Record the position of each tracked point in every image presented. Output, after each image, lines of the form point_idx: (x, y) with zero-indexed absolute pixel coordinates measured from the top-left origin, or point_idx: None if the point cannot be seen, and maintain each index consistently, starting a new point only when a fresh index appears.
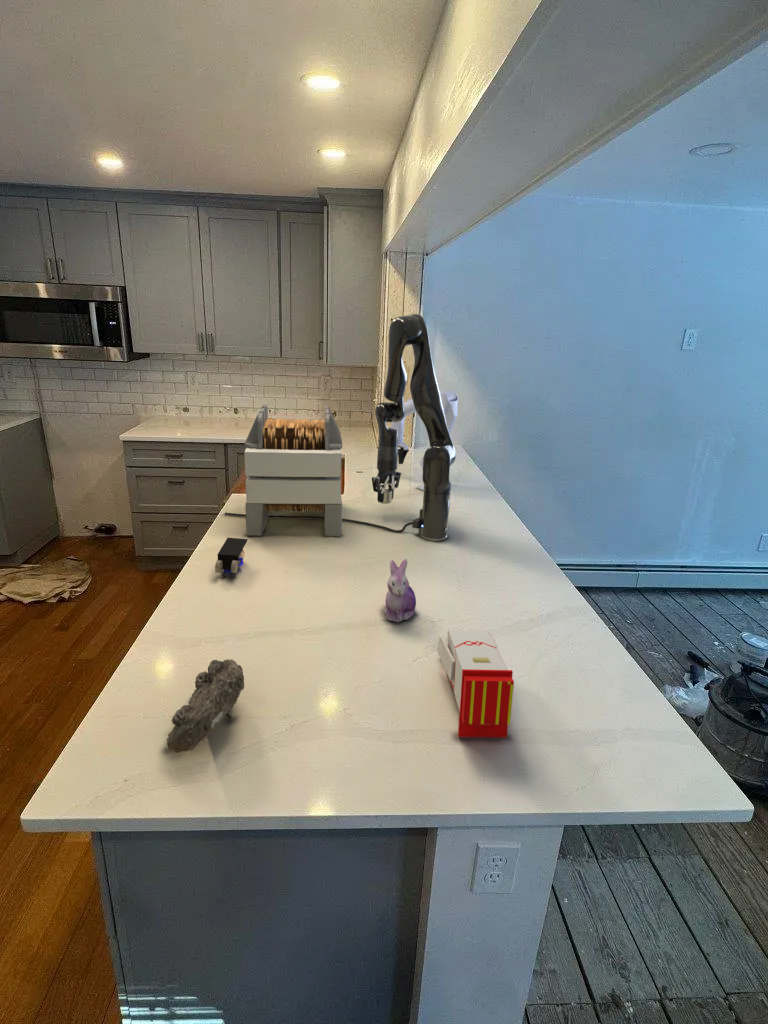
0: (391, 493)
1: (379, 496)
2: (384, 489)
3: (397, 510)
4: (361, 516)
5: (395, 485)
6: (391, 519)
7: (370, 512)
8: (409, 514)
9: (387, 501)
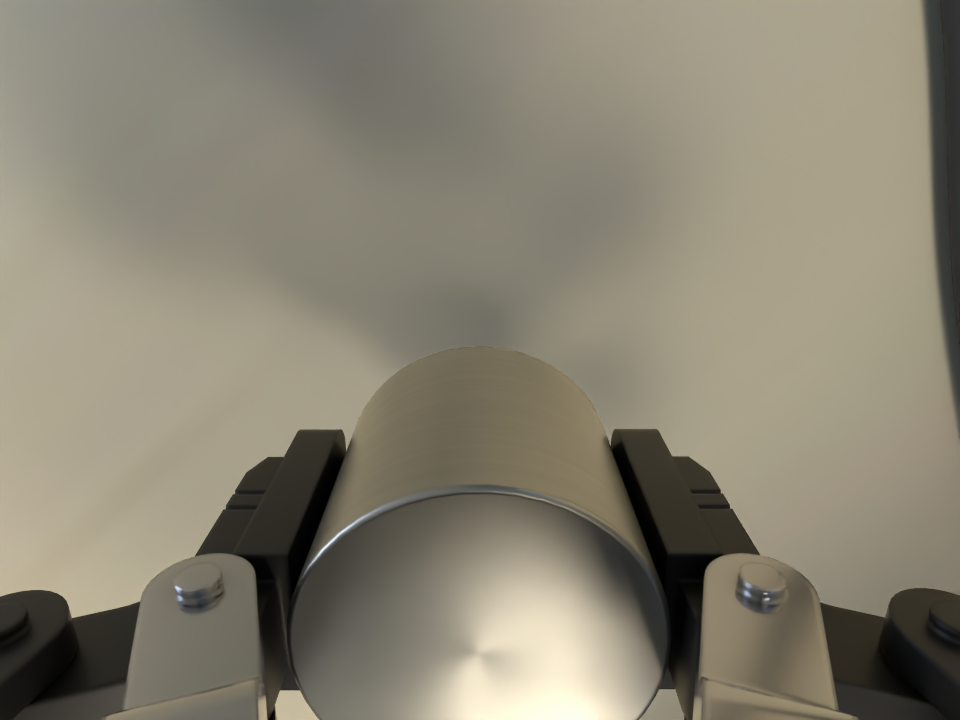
0: (413, 460)
1: (740, 549)
2: (443, 717)
3: (157, 392)
4: None
5: (39, 687)
6: (499, 195)
7: None
8: (105, 159)
9: (547, 378)
